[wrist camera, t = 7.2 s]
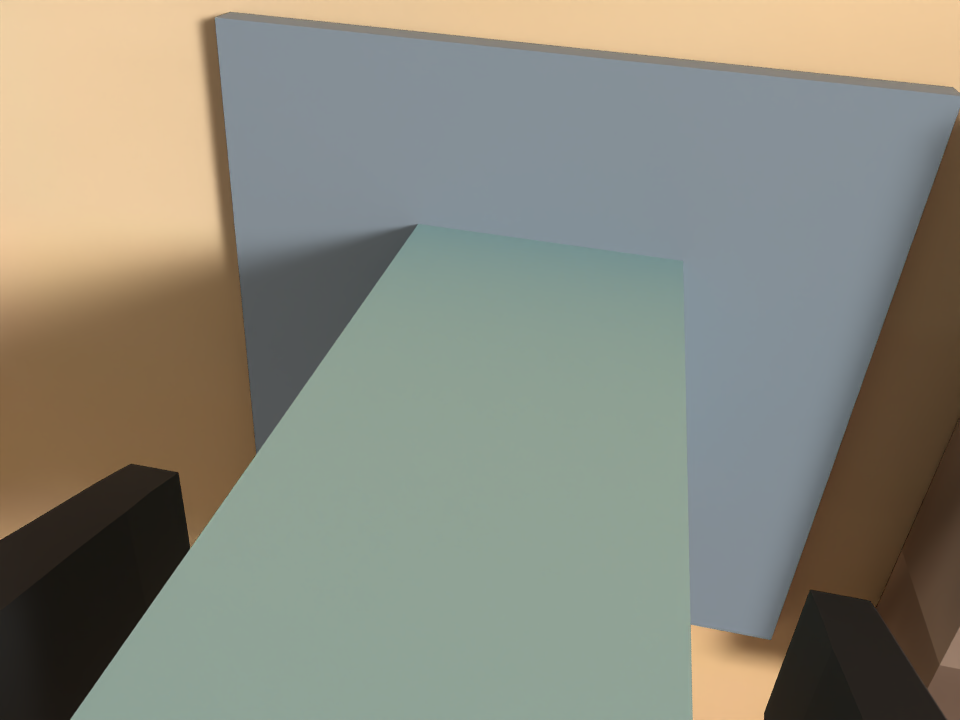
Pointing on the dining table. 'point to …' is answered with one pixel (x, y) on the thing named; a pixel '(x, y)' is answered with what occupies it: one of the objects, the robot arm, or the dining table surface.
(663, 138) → the rubber mat
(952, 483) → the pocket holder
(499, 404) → the teal block
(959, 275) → the dining table surface
